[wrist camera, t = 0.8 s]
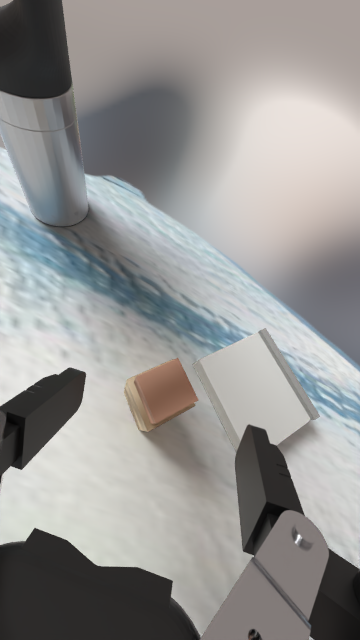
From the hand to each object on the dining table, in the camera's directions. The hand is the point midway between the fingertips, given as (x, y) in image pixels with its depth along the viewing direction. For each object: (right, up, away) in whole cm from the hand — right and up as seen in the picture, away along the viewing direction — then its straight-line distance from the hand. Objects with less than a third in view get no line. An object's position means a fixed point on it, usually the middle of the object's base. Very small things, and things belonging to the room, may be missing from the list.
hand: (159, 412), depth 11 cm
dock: (+11, -6, +24) cm, 27 cm away
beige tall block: (-3, -7, +20) cm, 21 cm away
